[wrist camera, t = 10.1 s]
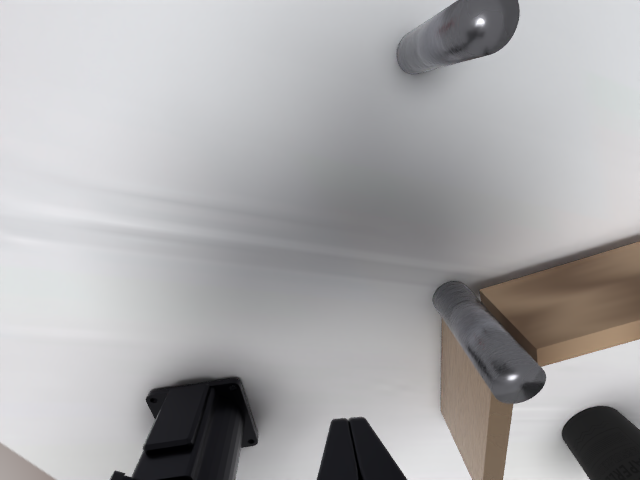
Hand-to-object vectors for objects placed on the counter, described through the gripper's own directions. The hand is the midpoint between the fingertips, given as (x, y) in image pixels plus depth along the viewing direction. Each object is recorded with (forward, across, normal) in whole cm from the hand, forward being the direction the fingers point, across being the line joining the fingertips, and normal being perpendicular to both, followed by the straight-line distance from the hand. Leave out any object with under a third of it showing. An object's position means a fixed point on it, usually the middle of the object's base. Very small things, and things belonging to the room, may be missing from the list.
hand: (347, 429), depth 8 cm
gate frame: (+12, -7, +2) cm, 14 cm away
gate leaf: (+11, -16, +2) cm, 19 cm away
